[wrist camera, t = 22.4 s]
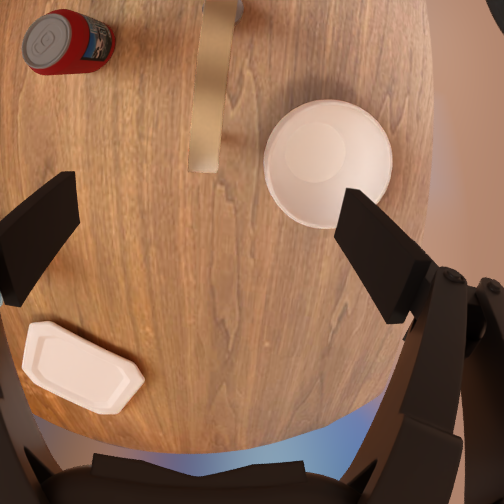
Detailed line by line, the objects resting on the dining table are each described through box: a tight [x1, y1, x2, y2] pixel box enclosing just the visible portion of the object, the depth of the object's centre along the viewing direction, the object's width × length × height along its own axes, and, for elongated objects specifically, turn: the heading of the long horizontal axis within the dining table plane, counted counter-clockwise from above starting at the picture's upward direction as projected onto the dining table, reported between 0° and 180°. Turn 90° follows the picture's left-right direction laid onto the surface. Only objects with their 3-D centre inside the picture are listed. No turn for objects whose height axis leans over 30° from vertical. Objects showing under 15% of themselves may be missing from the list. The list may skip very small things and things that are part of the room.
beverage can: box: [22, 9, 115, 75], centre depth 23 cm, size 7×7×12 cm
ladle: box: [188, 0, 244, 173], centre depth 26 cm, size 18×4×14 cm, turn 173°
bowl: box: [263, 99, 393, 229], centre depth 35 cm, size 14×14×8 cm
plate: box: [22, 321, 145, 414], centre depth 54 cm, size 25×25×2 cm
